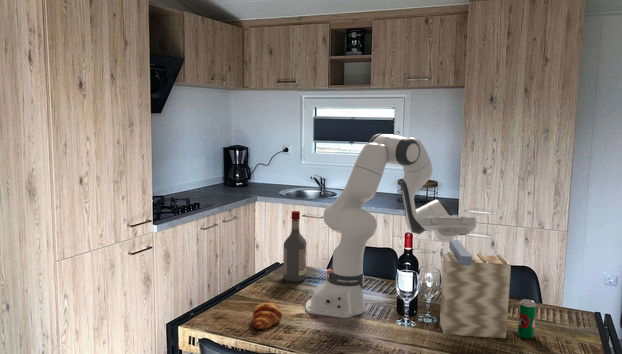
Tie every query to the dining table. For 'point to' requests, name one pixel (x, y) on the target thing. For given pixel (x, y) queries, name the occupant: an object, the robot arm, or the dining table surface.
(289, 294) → the dining table surface
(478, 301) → the zigzag patterned box
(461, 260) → the beam
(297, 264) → the liquor
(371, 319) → the dining table surface
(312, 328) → the dining table surface
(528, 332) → the soda can
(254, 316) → the croissant
